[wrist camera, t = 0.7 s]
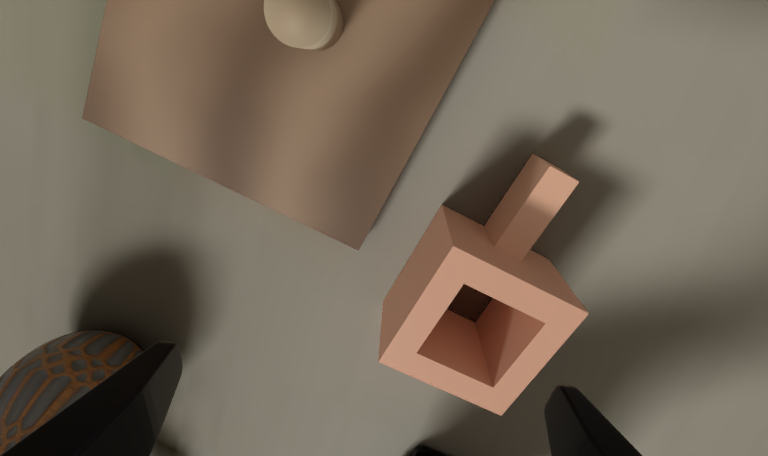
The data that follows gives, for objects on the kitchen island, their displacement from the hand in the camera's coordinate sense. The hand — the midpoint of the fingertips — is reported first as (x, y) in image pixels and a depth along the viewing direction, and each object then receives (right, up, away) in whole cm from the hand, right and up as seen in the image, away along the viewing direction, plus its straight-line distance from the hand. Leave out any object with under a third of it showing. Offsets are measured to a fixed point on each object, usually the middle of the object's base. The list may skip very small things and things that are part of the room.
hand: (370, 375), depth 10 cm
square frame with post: (+6, +2, +12) cm, 13 cm away
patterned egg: (-16, -5, +16) cm, 23 cm away
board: (-4, +12, +8) cm, 15 cm away
